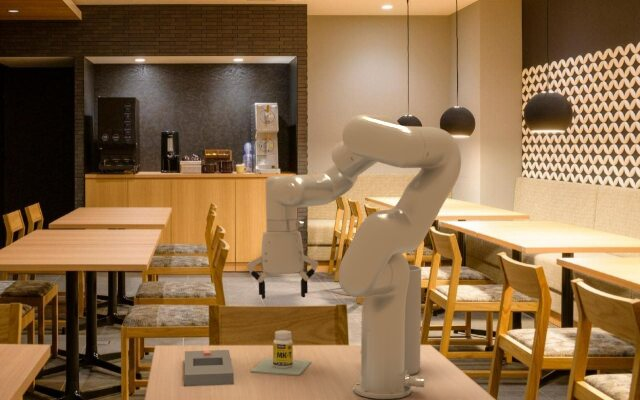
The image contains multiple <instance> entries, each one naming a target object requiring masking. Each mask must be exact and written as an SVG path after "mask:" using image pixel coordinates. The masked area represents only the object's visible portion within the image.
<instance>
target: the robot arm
mask: <svg viewBox="0 0 640 400" xmlns="http://www.w3.org/2000/svg"><path fill="white" fill-rule="evenodd" d="M341 134H342V135H341V136H342V137H341V138H342V140H341V141H340V142H338V143H337V144H336V145H334V147H333V148H332V151H331V160H332V162H333V165H332V166H330V167H329V168H328V169H326V170H325V171H323V172H322V173H313V174H310V173H308V174H293V175H272V176H271V175H270V176H268V177H267V178H266V180H265V215H266V216H265V223H266V225H265V227H266V232H265V231H264V232H263V233H262V237H261V240H262V241H261V251H260V252H261V254H260V256H258V257H257V258H254V259H253V260H251V261H249V262H248V263H247V264H246V267H247V269H248V271H249V273H250V275H251V276H252V277H253V278H254V279H255V280H256V281H257V282H258V295H259V296H261V299H262V300H264V299H266V282H265V279H266V278H267V276H268V275H290V274H292V275H293V274H298V275H299V276H300V277H301V280H300V296H301V297H302V298H306V294H308V291H309V290H308V287H309V286H308V282H309V279H310V278H311V277H312V276H313V275H314V274H315V271H316V270H317V268H318V266H319V262H318V261H317V260H315V259H313V258H311V257H310V256H307V255H305V254H304V245H303V240H302V234H301V231H299V229H300V228H303V227H304V221H301V220H299V219H298V208H306V207H307V208H308V207H313V206H314V207H315V206H316V207H317V206H325V205H329V204H331V203H332V202H334V201H336V200H338V199H339V198H340V197H343V195H345V194H346V193H348V192H349V191H350V190H351V189H352V188H353V187H354V186H355V184H356V183H357V181H358V178H359V176H360V175H362V174H363V173H364V172H366V171H367V170H369V169H370V168H371V167H373V166H374V165H375V164H377V163H380V164H384V165H387V166H391V167H395V168H401V169H414V168H415V169H419V168H420V170H419V172H418V173H417V174H416V175H415V176H414V177H413V178H412V179H411V180H410V181H409V183H408V184H407V185H406V187H405V188H404V190H403V192H402V195H401V196H400V198H399V200H398V202H397V203H396V204H395V206H394V207H392V208H390V209H381V210H378V211H377V210H376V211H375V212H372V213H370V214H369V215H367V216H366V218H364V220H363V221H361V223H360V225H359V227H358V228H357V230H356V231H355V234H354V236H353V238H352V240H351V242H350V243H349V245H348V247H347V249H346V251H345V253H344V255H343V257H342V259H341V262H340V263H339V267H338V268H339V269H338V274H337V275H338V283H339V286H340V287H341V290H342V291H343V292H344V293H345V294H346V295H348V296H351V297H353V298H363V303H362V307H361V322H360V323H361V327H360V328H361V333H360V334H361V335H360V336H361V337H360V341H361V343H360V344H361V345H360V346H361V348H360V354H361V355H360V359H361V360H360V380H359V381H356V383H355V384H354V385H353V391H354V393H356V394H357V395H358V396H362V397H364V398H367V399H368V398H370V399H376V400H394V399H401V398H404V397H407V396H409V395H410V394H411V393H412V387H416V388H425V378H424V377H423V378H421V376H417V375H407V369H404V345H405V304H406V294H407V288H408V283H409V277H410V269H409V265H410V263H409V262H408V259H407V258H406V257H405V255H404V254H406V253H411V252H413V251H415V250H417V249H419V248H420V246H421V245H422V244H423V242H424V240H425V238H426V236H427V234H428V233H429V231H430V229H431V228H432V225H433V224H434V222H435V220H436V218H437V217H438V215H439V214H440V213H439V212H441V211H440V210H441V208H442V207H443V206H444V204H445V202H446V200H447V198H448V197H449V196H450V194H451V192H452V190H453V189H454V187H455V185H456V183H457V181H458V178H459V175H460V173H461V169H462V168H461V166H462V155H461V150H460V147H459V145H458V143H457V140H456V139H455V138H454V136H453V135H451V133H449V132H448V131H446V130H445V129H442V128H439V127H436V126H435V127H434V126H412V125H410V126H408V125H401V124H400V123H399V122H398V121H397V120H396V119H395V118H393V117H391V116H388V115H384V114H366V113H365V114H364V113H363V114H358V115H355V116H353V117H351V118H350V119H349V120H348V121H347V122H346V123H345V125H344V127H343V129H342V133H341ZM305 262H306V263H308V264H310V269H308V270H307V271H306V272H305V271H304V269H305ZM259 264H261V270H262V271H261V272H260V273H258V272H257V271H256V270H255V268H254V267H256V266H258V265H259Z"/></svg>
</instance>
